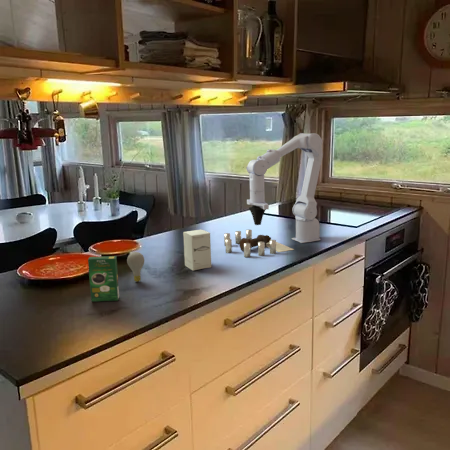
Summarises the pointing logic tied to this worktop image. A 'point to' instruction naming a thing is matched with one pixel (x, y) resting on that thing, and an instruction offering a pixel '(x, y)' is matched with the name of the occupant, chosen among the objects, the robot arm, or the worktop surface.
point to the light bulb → (136, 264)
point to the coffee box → (103, 278)
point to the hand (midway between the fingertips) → (257, 224)
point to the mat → (279, 247)
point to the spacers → (248, 244)
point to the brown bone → (254, 241)
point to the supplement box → (197, 249)
